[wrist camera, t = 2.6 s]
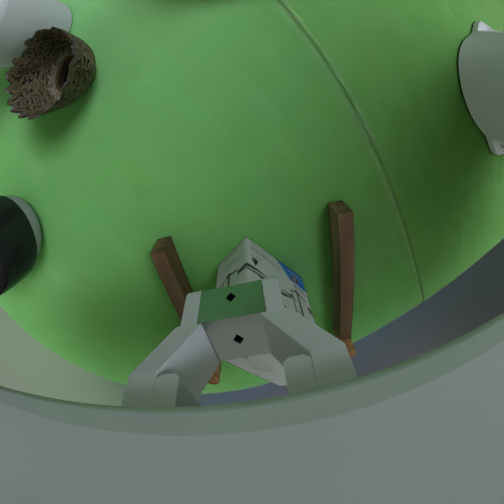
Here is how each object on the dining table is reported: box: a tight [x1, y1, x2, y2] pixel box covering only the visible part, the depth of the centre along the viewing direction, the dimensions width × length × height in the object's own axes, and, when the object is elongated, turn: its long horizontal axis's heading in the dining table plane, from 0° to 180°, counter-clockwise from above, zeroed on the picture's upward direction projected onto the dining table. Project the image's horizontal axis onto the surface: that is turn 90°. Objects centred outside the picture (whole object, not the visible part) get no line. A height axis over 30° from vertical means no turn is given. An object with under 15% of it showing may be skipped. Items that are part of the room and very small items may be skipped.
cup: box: [4, 27, 96, 120], centre depth 14 cm, size 8×7×8 cm
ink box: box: [216, 238, 315, 386], centre depth 24 cm, size 9×5×12 cm, turn 49°
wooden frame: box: [150, 200, 356, 384], centre depth 28 cm, size 22×19×7 cm
